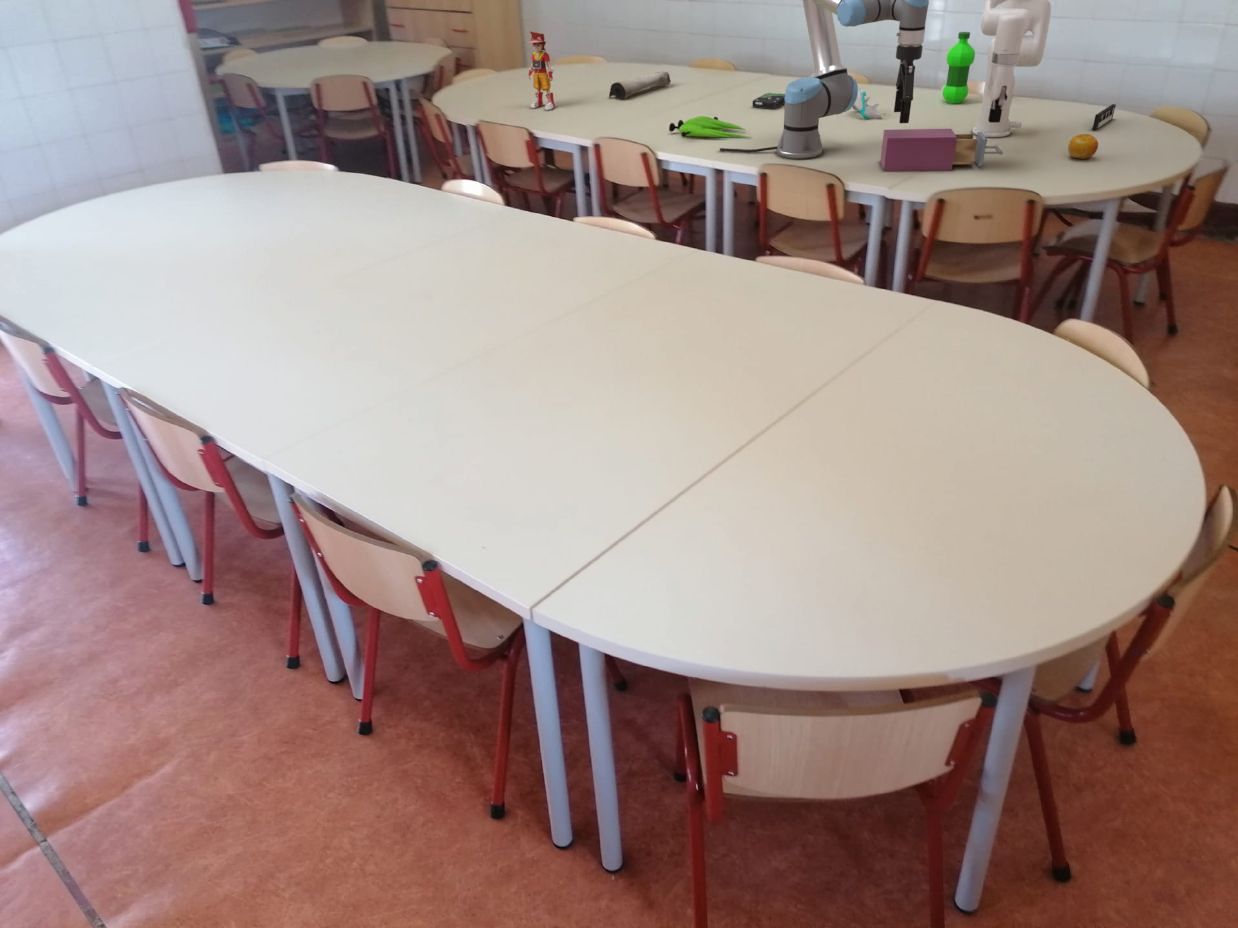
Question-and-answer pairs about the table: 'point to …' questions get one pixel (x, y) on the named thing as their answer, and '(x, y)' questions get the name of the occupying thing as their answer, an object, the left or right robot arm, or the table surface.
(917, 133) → the cabinet
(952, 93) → the plastic bottle
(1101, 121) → the midi keyboard
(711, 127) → the toy
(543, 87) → the toy
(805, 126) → the left robot arm
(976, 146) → the drawer
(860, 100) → the anatomical model
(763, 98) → the disk drive
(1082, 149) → the fruit
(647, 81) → the rolled mat
